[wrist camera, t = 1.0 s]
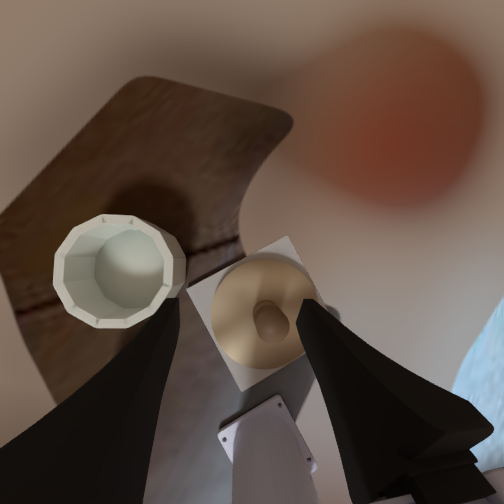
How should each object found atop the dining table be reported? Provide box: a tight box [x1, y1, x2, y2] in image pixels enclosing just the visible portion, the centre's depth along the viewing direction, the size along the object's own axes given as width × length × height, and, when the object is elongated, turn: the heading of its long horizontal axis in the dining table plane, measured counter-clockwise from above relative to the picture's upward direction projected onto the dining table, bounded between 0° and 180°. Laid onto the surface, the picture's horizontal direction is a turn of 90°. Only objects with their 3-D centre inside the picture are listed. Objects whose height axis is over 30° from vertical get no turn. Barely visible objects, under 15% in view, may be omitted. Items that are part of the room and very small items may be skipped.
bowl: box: [53, 214, 186, 328], centre depth 19 cm, size 10×10×4 cm
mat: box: [186, 235, 328, 392], centre depth 22 cm, size 13×13×1 cm
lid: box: [211, 259, 318, 370], centre depth 20 cm, size 12×12×5 cm
